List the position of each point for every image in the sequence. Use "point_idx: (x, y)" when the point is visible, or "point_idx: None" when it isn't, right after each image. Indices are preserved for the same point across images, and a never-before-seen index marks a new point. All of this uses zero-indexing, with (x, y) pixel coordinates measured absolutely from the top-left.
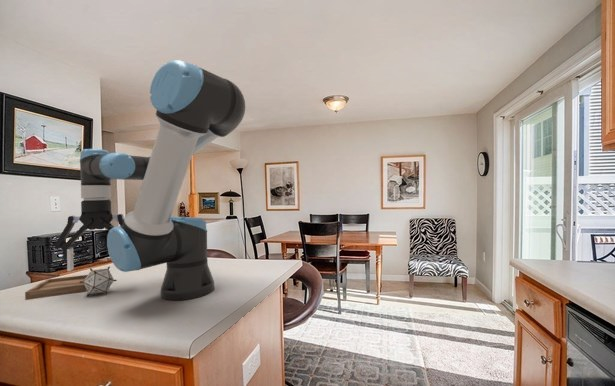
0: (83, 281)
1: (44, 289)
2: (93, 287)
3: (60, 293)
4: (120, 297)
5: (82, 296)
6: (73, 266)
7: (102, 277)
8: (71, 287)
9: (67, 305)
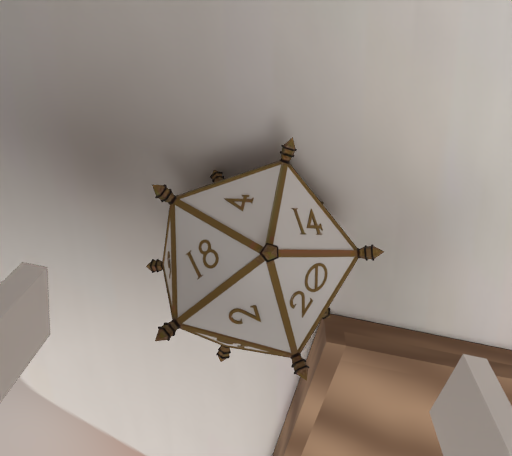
0: (352, 251)
1: None
2: (286, 148)
3: (444, 342)
4: (123, 17)
5: (346, 227)
6: (437, 429)
7: (219, 214)
8: (400, 352)
9: (436, 80)
